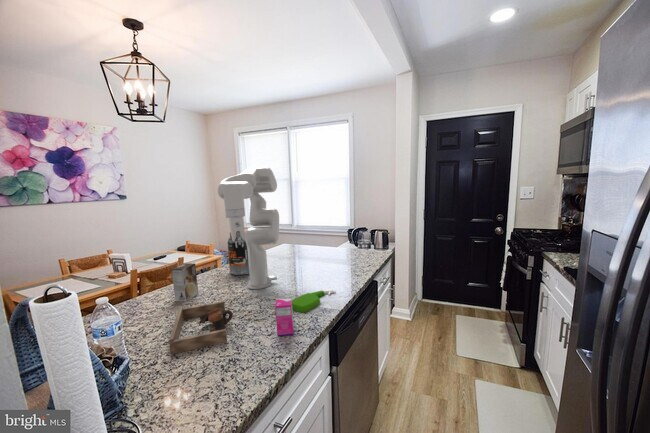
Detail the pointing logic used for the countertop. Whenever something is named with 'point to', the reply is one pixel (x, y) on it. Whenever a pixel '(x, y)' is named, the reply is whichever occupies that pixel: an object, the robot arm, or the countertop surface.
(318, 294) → the spray bottle
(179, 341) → the wooden u-shaped frame
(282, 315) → the supplement box
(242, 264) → the supplement tub
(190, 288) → the coffee box
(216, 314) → the pottery mug
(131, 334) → the countertop surface
